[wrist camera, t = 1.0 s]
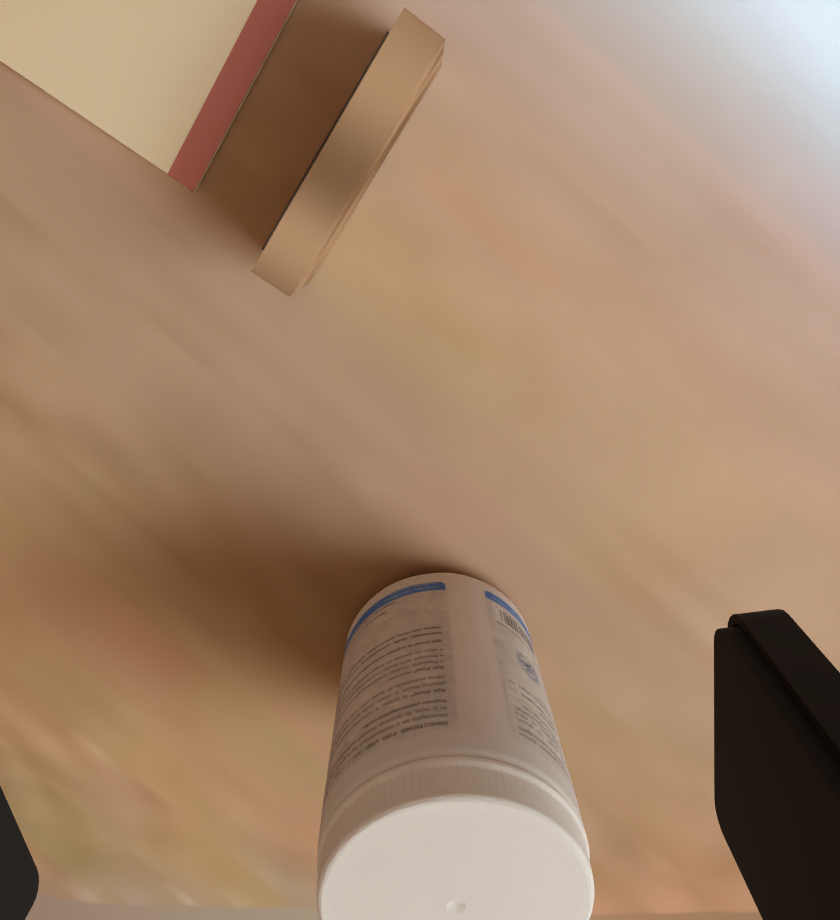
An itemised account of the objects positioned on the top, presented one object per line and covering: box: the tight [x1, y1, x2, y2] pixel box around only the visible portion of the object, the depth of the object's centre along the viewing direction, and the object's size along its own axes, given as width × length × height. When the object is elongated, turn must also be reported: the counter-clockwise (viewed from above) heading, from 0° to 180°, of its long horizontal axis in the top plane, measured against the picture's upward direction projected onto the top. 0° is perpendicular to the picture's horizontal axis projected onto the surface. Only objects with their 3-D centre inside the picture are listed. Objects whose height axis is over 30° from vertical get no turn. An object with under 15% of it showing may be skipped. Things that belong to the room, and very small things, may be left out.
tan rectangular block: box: [251, 7, 445, 297], centre depth 27 cm, size 10×2×5 cm, turn 146°
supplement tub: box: [317, 573, 594, 920], centre depth 30 cm, size 10×10×15 cm
